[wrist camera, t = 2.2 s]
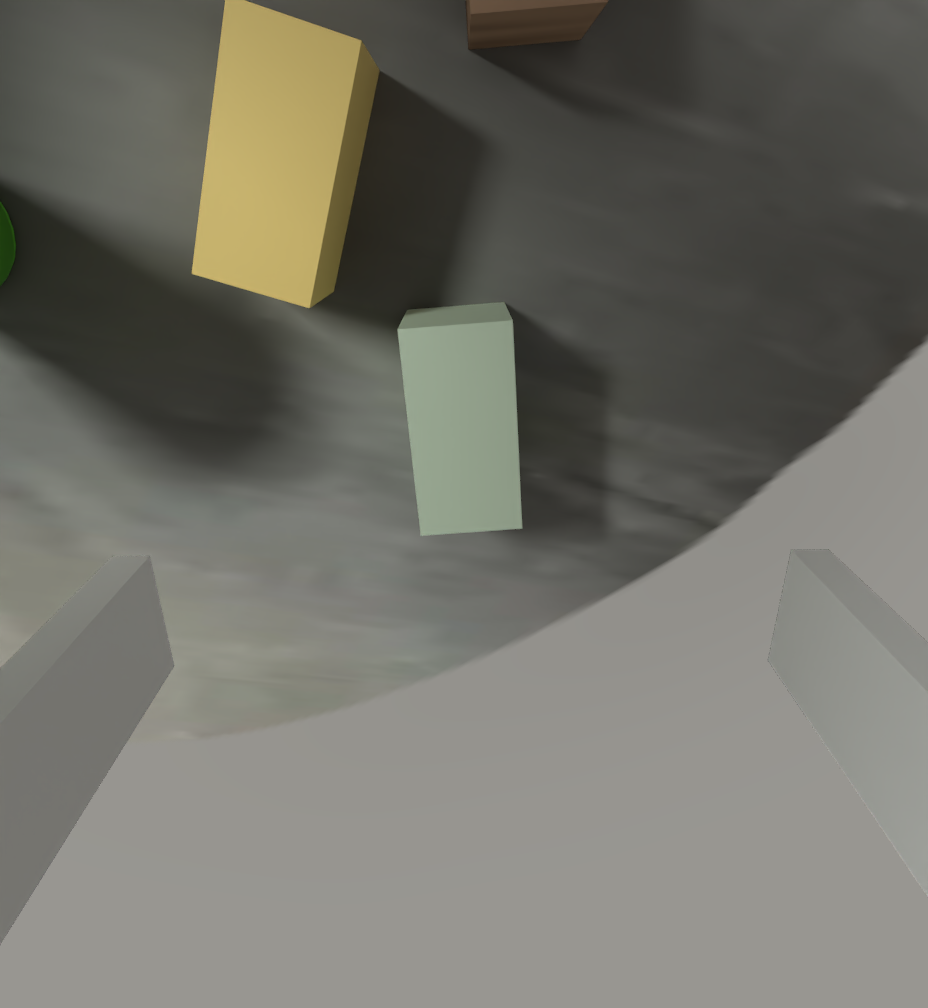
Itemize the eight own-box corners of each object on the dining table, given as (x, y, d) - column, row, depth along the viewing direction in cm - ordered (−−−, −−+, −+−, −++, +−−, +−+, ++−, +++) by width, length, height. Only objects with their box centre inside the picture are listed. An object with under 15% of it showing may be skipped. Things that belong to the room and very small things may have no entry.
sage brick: (512, 480, 31) (522, 528, 27) (426, 487, 31) (420, 535, 27) (503, 301, 28) (512, 320, 23) (407, 309, 28) (397, 329, 23)
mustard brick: (334, 290, 28) (309, 308, 23) (236, 261, 27) (191, 273, 23) (380, 70, 25) (361, 40, 20) (270, 33, 24) (226, -7, 20)
